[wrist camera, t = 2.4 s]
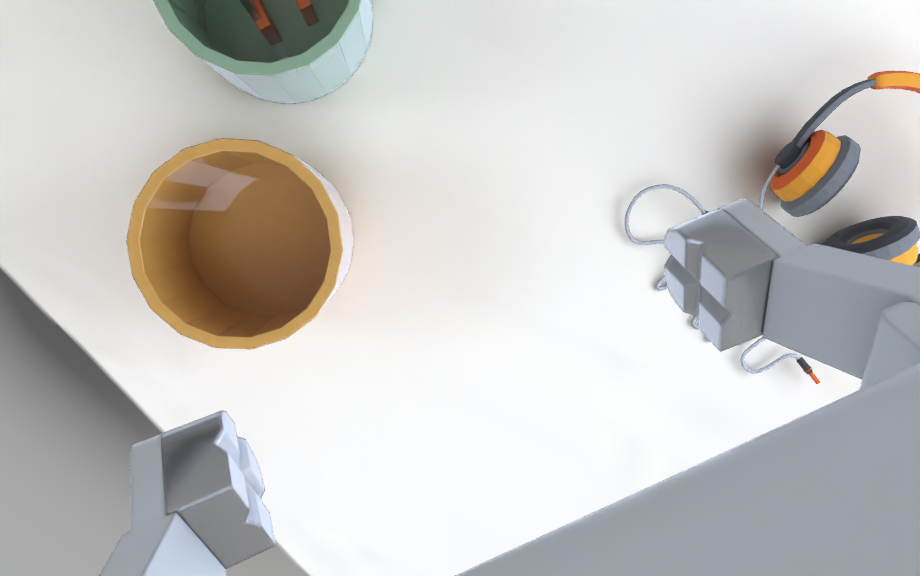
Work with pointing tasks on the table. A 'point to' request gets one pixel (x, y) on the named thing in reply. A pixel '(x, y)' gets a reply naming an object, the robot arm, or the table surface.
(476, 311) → the table surface
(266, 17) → the tongs
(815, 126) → the headphones
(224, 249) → the ochre crock
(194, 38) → the green crock
